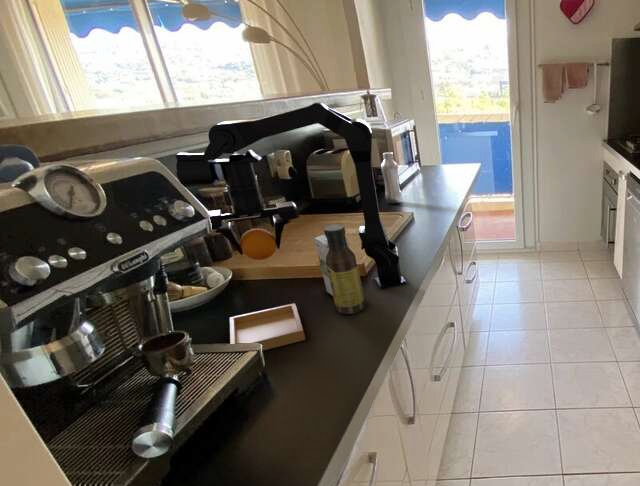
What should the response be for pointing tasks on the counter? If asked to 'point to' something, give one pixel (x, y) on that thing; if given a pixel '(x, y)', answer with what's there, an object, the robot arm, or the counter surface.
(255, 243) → the orange
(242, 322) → the tray
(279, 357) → the counter surface
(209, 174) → the robot arm
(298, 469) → the counter surface
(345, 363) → the counter surface
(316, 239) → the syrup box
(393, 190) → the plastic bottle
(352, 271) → the sauce bottle
